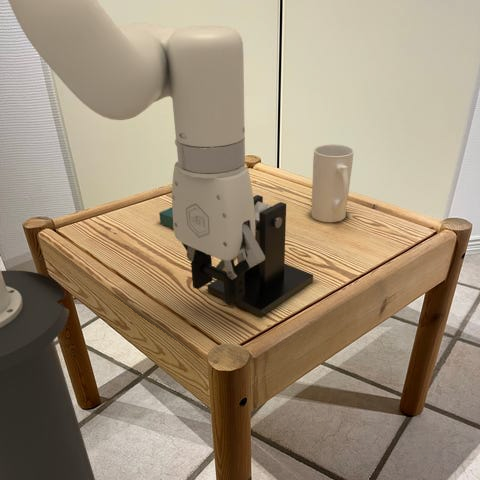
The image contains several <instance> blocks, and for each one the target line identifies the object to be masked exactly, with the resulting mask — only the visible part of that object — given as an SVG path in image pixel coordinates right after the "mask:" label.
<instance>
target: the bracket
mask: <svg viewBox="0 0 480 480" xmlns="http://www.w3.org/2000/svg"><path fill="white" fill-rule="evenodd" d="M253 200H254V206H255V205H256V203H257V202H258V201H259V202H262V203H264V196H262V195H260V194H256V195H253ZM286 226H287V203H285V202H282V201H279V202H278V203H275V204H273V205H271V207H269V208H267V209H265V210H263V211H261V212H260V213H259V230H258V231H257V232H256V233H255V239H256V241H257V243H258V245H259V246H260V248H261V250H262V252H263V254H264V255H265V260H264V261H262V262H260V263H259V264H257V265H255V266H253V267H252V268H250V269H249V270H248V271H246V272H245V295H244V296H243V297H242V298H240V299H239V300H237V301H236V302H234V303H232V304H231V305H234V306H236V307H238V308H240V309H242V310H244V311H247V312H249V313H251V314H252V315H255V316H257V317H259V318H263V317H264V316H265V315H267V314H269V313H270V312H271V311H273V310H274V309H276V308H278V306H280V305H281V304H283V303H285V302H286V301H287V300H289V299H290V298H292V297H293V296H294V295H296V294H297V293H299V292H300V291H302V290H303V289H304V288H306V287H307V286H310V284H312V283H313V282H314V274H312V273H310V272H307V271H305V270H303V269H300V268H297V267H295V266H292V265H289V264H287V263H286V230H287V229H286V228H287V227H286ZM245 253H246V251H245ZM246 257H248V256H247V253H246ZM207 293H209V294H211V295H213V296H215V297H218V298H219V299H222V300H223V301H225V294H224V283H223V282H221V281H218V280H216V279H215V280H213V281H211V282H210V283H208V284H207Z"/></svg>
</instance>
